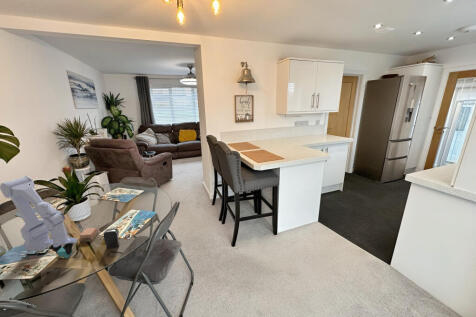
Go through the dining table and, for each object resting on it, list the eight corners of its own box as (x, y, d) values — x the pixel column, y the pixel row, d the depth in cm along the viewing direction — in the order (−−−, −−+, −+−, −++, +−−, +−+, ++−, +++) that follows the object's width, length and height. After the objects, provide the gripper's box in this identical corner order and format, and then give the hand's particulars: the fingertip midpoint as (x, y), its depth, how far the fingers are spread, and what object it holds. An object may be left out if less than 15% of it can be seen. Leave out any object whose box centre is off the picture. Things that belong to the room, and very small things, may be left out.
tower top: (80, 238, 112) (79, 235, 111) (86, 231, 118) (85, 228, 117) (91, 237, 113) (90, 234, 112) (96, 231, 118) (96, 227, 118)
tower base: (80, 242, 112) (79, 239, 111) (87, 234, 119) (86, 231, 118) (92, 242, 113) (91, 238, 112) (99, 234, 119) (98, 230, 119)
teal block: (59, 259, 100) (56, 251, 98) (64, 253, 104) (62, 246, 102) (67, 258, 100) (64, 251, 99) (72, 252, 104) (70, 245, 103)
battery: (121, 242, 113) (118, 226, 109) (119, 246, 110) (116, 231, 106) (108, 243, 111) (105, 228, 108) (105, 248, 108) (102, 232, 104)
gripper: (36, 240, 93) (44, 260, 97) (68, 238, 94) (74, 258, 99) (48, 230, 99) (55, 250, 104) (77, 229, 101) (83, 248, 105)
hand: (65, 253), depth 102 cm, fingers closed on teal block, 4 cm apart
